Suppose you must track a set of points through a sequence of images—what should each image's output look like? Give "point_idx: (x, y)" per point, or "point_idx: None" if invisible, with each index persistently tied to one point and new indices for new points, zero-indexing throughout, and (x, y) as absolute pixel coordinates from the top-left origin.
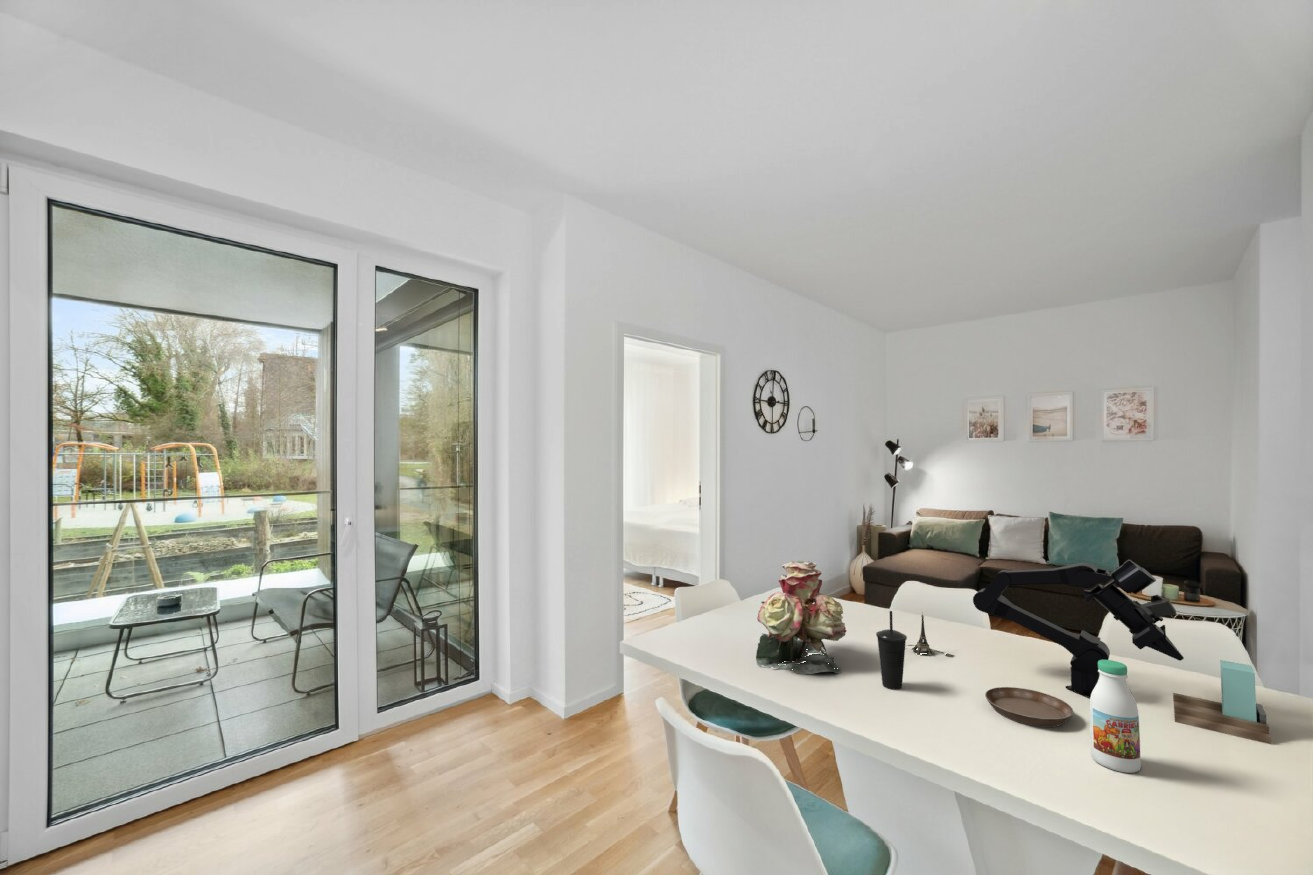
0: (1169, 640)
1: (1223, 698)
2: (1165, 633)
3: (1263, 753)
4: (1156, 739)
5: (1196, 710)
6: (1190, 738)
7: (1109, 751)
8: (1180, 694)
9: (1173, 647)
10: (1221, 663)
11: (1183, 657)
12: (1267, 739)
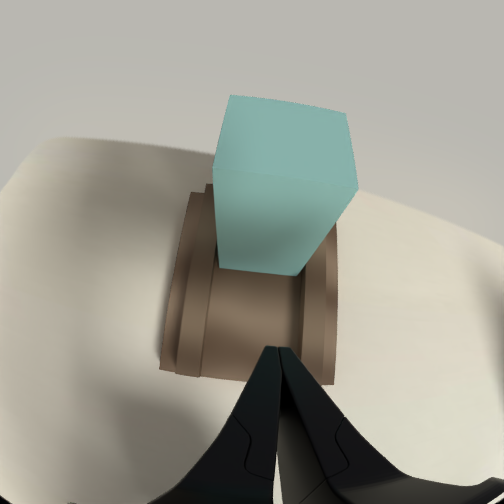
0: (269, 448)
1: (301, 252)
2: (465, 486)
3: (389, 242)
4: (446, 403)
5: (316, 334)
6: (408, 354)
7: None
8: (179, 355)
9: (338, 410)
10: (284, 176)
11: (282, 347)
12: None
